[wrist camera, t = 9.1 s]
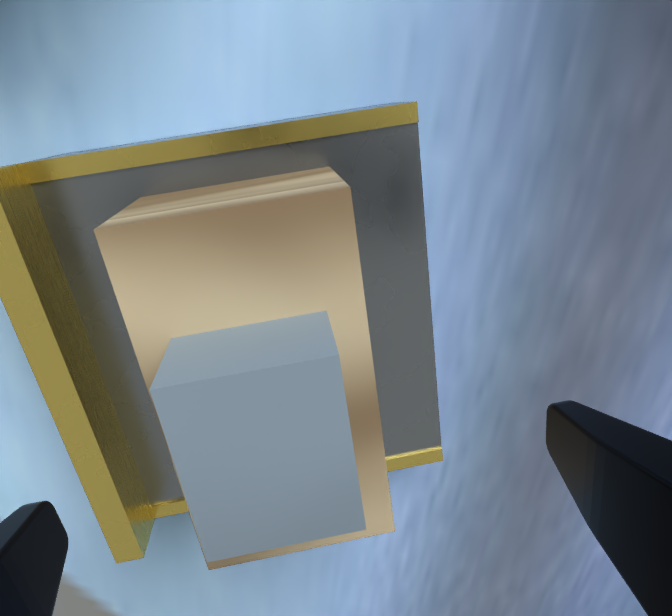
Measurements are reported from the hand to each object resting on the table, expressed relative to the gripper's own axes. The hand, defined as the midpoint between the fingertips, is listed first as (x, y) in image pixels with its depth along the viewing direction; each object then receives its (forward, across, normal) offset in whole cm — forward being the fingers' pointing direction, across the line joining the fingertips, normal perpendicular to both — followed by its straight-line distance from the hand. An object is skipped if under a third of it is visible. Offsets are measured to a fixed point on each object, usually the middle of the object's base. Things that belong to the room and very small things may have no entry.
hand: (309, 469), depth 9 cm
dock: (+12, +1, +2) cm, 12 cm away
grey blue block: (+5, +1, +2) cm, 5 cm away
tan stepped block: (+9, +1, +2) cm, 9 cm away
